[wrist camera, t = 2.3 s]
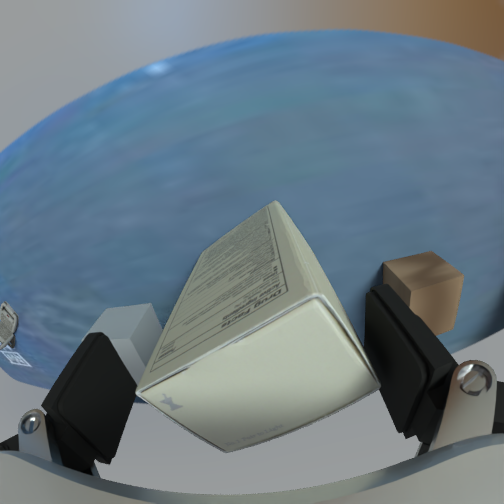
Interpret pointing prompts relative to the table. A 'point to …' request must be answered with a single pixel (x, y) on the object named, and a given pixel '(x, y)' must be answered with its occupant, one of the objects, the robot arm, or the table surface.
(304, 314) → the skincare box
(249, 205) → the table surface
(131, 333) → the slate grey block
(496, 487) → the robot arm
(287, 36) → the table surface
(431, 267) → the walnut block
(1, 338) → the strap clip
